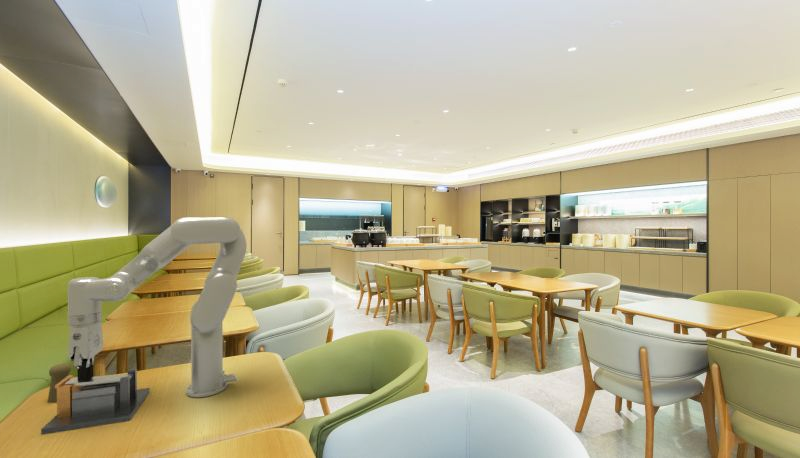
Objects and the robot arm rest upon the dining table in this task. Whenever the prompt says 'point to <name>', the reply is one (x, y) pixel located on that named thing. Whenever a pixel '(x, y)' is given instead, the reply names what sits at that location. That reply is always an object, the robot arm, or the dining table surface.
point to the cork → (57, 379)
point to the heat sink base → (105, 418)
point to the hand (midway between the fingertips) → (85, 379)
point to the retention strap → (98, 380)
